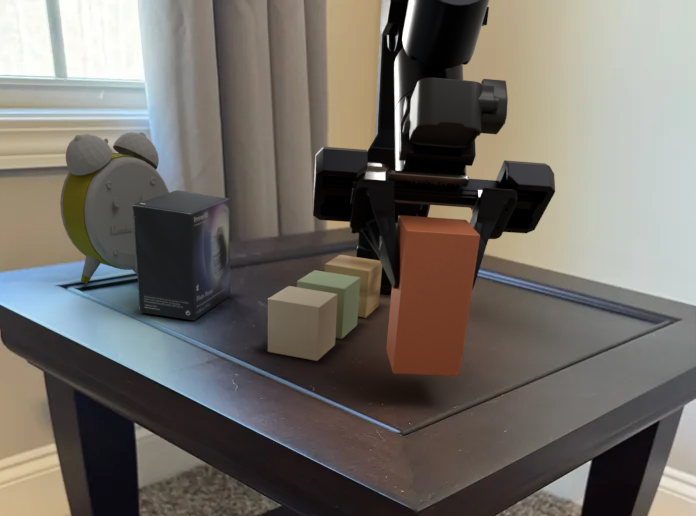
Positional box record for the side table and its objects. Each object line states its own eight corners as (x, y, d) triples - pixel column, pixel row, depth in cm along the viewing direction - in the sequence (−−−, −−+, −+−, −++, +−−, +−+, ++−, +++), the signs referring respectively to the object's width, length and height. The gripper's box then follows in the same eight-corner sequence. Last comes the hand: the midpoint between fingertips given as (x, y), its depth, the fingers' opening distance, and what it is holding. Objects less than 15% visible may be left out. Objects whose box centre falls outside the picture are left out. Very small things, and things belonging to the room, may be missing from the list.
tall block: (386, 350, 67) (398, 214, 61) (448, 352, 67) (466, 219, 61) (392, 373, 62) (406, 230, 56) (459, 376, 63) (480, 235, 57)
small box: (197, 322, 78) (192, 212, 72) (137, 314, 79) (127, 204, 73) (234, 296, 86) (232, 195, 81) (179, 288, 87) (173, 188, 82)
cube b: (312, 317, 82) (314, 269, 79) (357, 325, 81) (360, 277, 78) (295, 331, 78) (296, 280, 75) (341, 339, 77) (344, 288, 74)
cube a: (337, 299, 89) (339, 254, 86) (379, 306, 88) (382, 260, 85) (322, 310, 84) (324, 263, 82) (365, 318, 83) (369, 270, 81)
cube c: (287, 336, 76) (288, 285, 74) (335, 345, 75) (337, 293, 73) (267, 351, 72) (267, 298, 70) (317, 361, 71) (319, 307, 69)
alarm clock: (149, 266, 94) (138, 128, 86) (188, 278, 91) (180, 136, 83) (67, 282, 86) (46, 131, 78) (107, 296, 83) (89, 140, 75)
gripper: (320, 18, 54) (318, 217, 51) (575, 43, 56) (588, 235, 53) (313, 131, 65) (311, 301, 62) (528, 148, 67) (536, 313, 64)
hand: (433, 288), depth 60 cm, fingers closed on tall block, 5 cm apart
